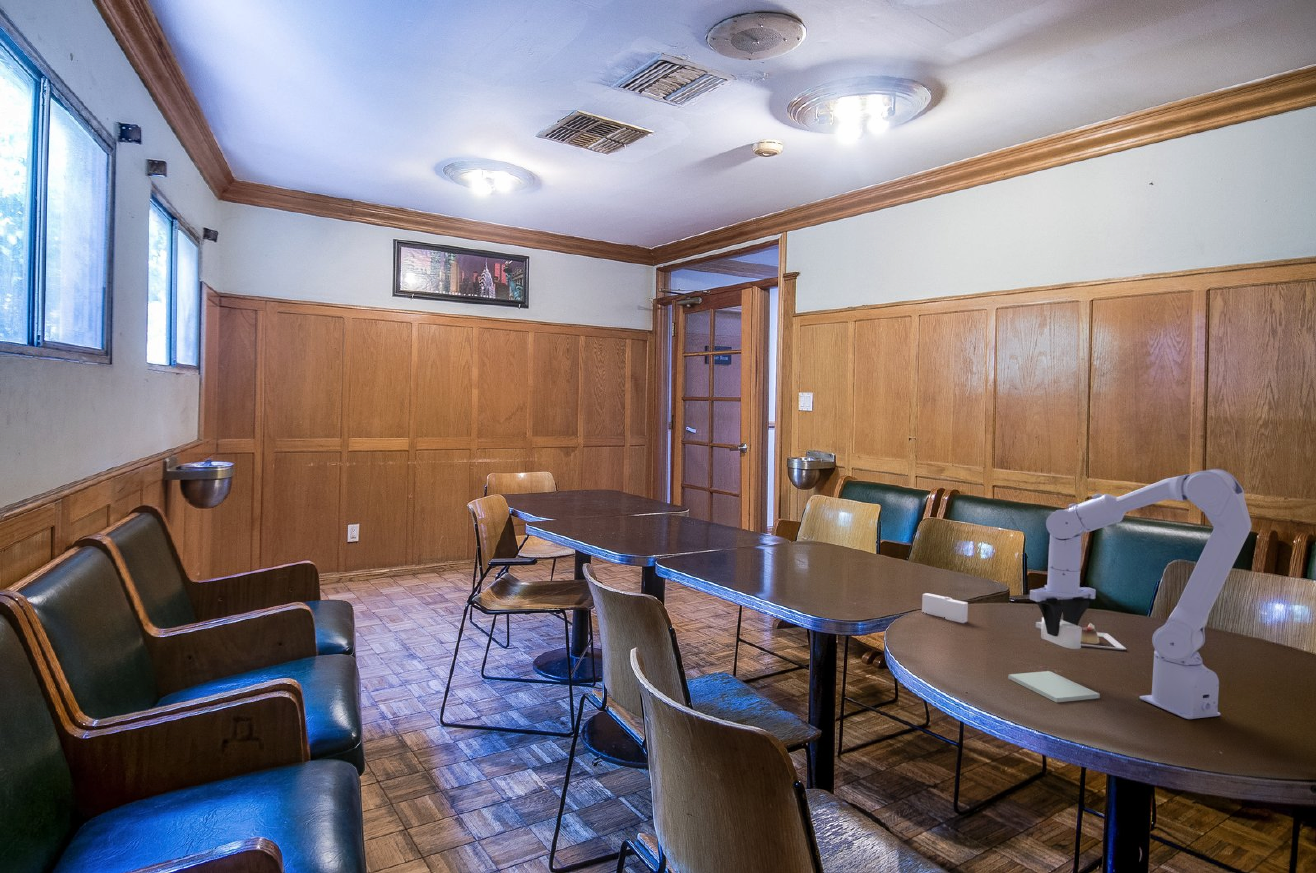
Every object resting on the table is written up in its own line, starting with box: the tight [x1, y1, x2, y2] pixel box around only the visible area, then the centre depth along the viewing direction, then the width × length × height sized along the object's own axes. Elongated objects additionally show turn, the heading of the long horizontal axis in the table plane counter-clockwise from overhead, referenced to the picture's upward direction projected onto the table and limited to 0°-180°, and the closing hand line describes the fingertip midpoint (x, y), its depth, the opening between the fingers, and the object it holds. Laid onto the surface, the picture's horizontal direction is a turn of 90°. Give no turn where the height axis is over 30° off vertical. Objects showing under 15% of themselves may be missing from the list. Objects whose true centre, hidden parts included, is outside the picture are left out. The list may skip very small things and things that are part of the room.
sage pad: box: [1007, 670, 1101, 703], centre depth 140 cm, size 12×10×1 cm
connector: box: [1035, 616, 1083, 650], centre depth 148 cm, size 10×4×4 cm, turn 15°
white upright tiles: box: [921, 592, 969, 624], centre depth 187 cm, size 15×11×6 cm
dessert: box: [1081, 622, 1127, 651], centre depth 171 cm, size 12×12×5 cm
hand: (1060, 634), depth 147 cm, fingers closed on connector, 4 cm apart
